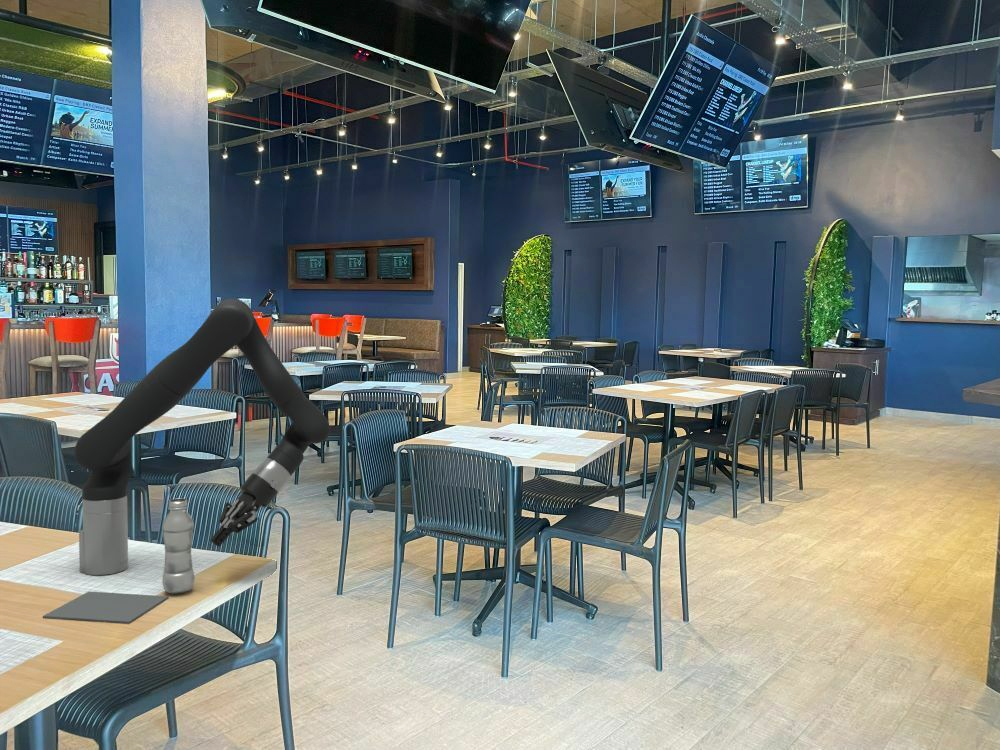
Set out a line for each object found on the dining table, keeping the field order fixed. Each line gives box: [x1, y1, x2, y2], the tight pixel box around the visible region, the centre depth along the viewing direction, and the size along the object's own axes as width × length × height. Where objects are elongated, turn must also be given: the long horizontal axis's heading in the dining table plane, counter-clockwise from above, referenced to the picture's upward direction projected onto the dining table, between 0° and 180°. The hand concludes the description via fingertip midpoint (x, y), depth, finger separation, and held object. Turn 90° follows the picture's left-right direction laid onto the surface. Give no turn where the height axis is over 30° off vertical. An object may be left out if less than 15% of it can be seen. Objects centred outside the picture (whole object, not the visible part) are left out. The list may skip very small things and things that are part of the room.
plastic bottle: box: [161, 497, 195, 595], centre depth 166 cm, size 6×7×20 cm
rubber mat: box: [42, 591, 169, 625], centre depth 156 cm, size 18×14×1 cm
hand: (214, 543), depth 171 cm, fingers closed
